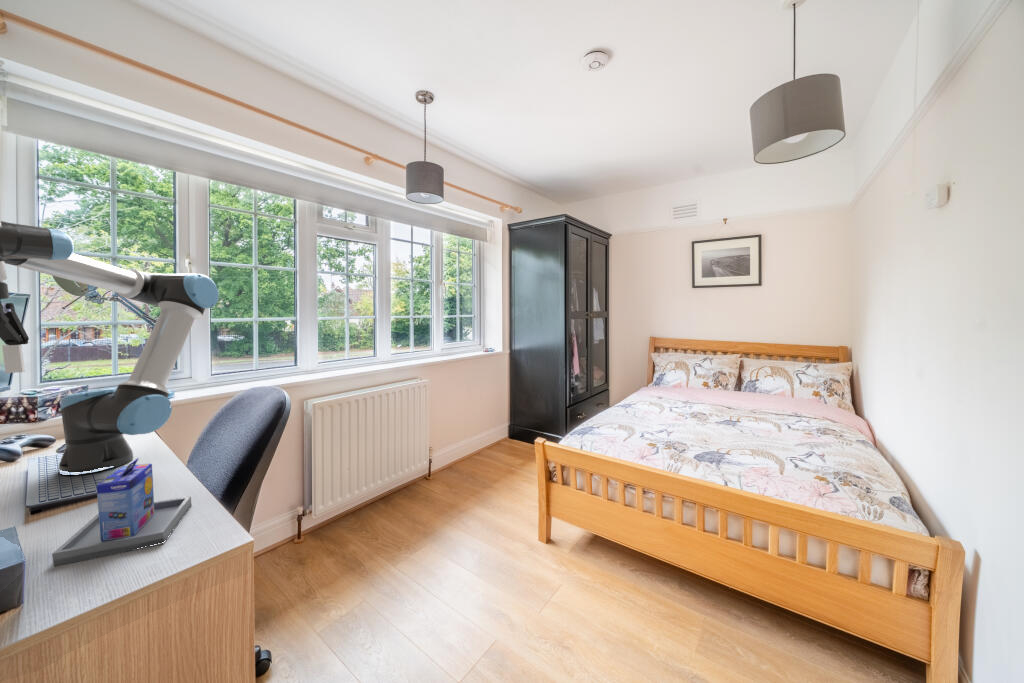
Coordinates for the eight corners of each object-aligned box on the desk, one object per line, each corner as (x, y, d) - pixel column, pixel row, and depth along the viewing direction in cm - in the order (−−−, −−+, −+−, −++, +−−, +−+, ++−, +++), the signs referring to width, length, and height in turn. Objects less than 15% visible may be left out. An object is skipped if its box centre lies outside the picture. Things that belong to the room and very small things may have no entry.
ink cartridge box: (135, 537, 77) (128, 469, 76) (99, 544, 75) (91, 474, 74) (157, 512, 86) (151, 452, 85) (125, 518, 84) (119, 455, 83)
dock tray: (102, 521, 85) (101, 511, 85) (191, 505, 92) (190, 496, 91) (53, 566, 70) (52, 553, 70) (164, 543, 77) (163, 532, 77)
